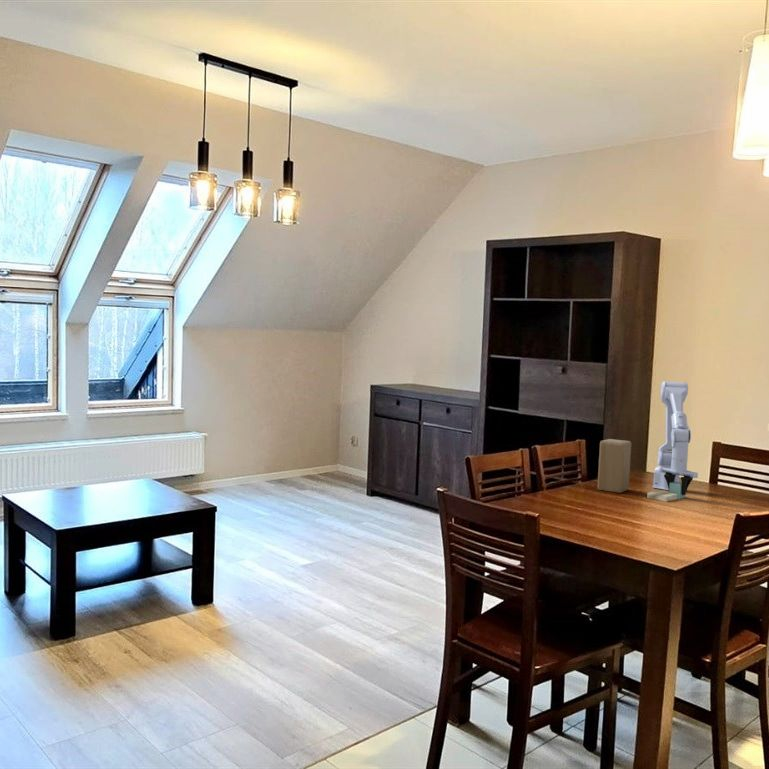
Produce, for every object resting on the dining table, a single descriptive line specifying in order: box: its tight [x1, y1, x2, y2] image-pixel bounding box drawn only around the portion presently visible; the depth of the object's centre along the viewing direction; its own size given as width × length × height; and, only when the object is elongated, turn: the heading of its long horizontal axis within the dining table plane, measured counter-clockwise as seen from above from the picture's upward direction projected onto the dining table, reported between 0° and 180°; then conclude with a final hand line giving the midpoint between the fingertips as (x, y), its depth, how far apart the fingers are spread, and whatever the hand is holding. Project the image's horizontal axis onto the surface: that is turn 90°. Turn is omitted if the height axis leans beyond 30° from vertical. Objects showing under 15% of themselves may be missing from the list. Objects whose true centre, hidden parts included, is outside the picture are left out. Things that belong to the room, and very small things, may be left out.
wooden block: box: [597, 438, 632, 494], centre depth 308 cm, size 10×10×20 cm
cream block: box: [646, 490, 678, 502], centre depth 296 cm, size 8×8×2 cm
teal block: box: [668, 481, 687, 500], centre depth 299 cm, size 4×4×6 cm
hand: (677, 493), depth 299 cm, fingers closed on teal block, 4 cm apart
